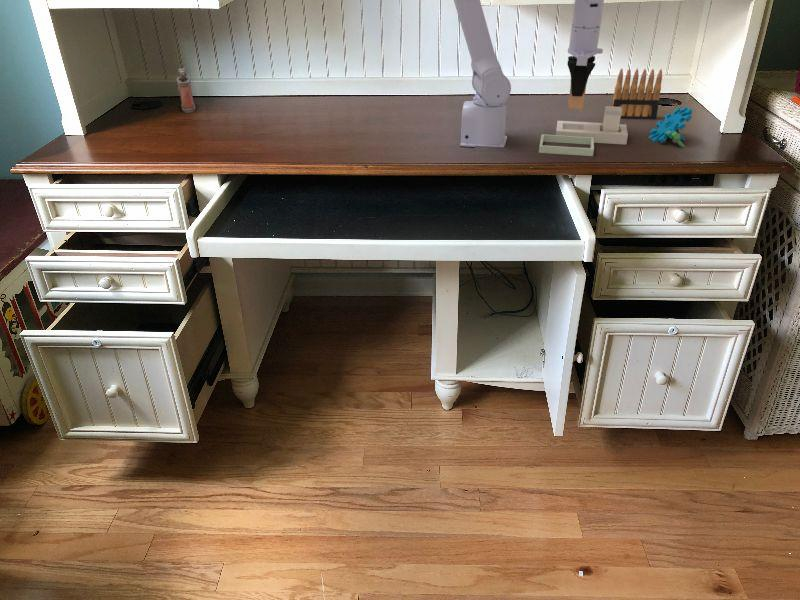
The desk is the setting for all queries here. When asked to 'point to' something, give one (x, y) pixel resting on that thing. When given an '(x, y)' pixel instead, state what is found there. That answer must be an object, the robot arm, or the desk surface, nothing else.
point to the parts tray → (567, 149)
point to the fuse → (612, 118)
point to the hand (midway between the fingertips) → (577, 93)
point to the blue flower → (671, 126)
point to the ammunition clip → (640, 98)
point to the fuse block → (592, 131)
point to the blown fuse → (576, 100)
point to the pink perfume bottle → (185, 91)
